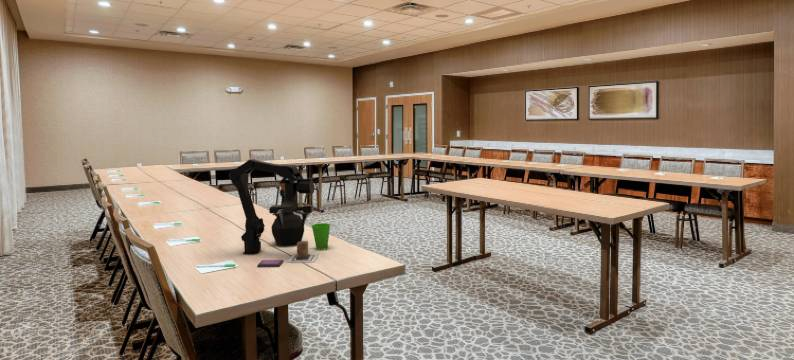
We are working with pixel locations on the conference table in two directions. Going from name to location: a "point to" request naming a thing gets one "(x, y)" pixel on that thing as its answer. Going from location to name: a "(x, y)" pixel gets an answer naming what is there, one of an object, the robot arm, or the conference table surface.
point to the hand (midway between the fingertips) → (292, 227)
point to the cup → (321, 234)
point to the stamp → (302, 250)
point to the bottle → (287, 227)
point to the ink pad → (270, 263)
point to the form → (293, 260)
